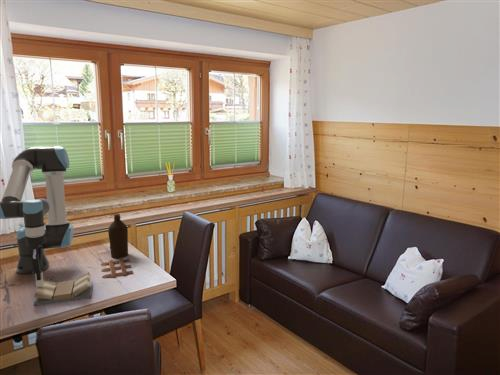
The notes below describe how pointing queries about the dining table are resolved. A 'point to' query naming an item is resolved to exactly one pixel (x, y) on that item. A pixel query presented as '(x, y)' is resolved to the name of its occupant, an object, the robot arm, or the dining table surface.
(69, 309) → the dining table surface
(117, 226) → the olive oil
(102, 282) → the dining table surface
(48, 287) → the plank
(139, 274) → the dining table surface
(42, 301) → the floor board
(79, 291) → the plank
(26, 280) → the dining table surface
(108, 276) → the decorative fence
